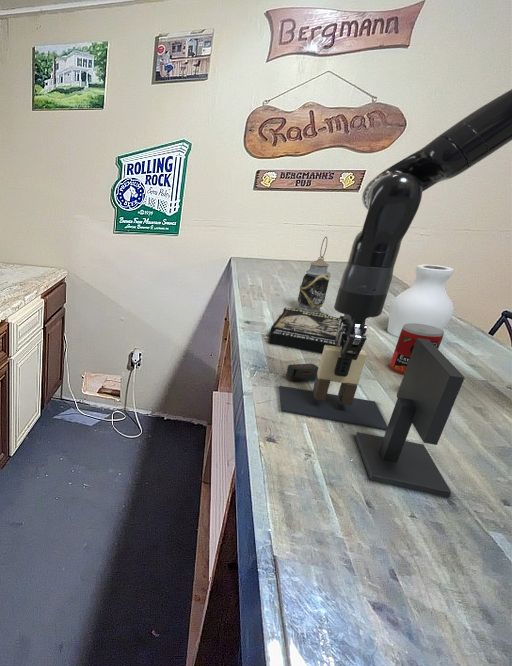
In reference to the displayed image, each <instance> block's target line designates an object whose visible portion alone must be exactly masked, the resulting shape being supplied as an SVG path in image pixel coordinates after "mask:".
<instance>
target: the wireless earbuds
mask: <svg viewBox="0 0 512 666" xmlns="http://www.w3.org/2000/svg"><path fill="white" fill-rule="evenodd" d="M318 368H319V366H317V365H316V364H314V363H293V364H291V363H290V364H288V365H287V368H286V374H285V377H286V378H287V379H288V380H289V381H291V382H302V381H304V382H305V381H306V382H307V381H315V380H316V376H317V371H318Z"/></svg>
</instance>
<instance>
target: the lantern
mask: <svg viewBox="0 0 512 666" xmlns="http://www.w3.org/2000/svg"><path fill="white" fill-rule="evenodd" d="M325 239H326V240H328V237H327V236H324V238H323V239H322V242H321V246H320V250H319V251H320V252H319V255H320V256H319V257H318V258H317V259H316V260H314V261H311V262H310V266H309V269H308V270H305V274H304V275H303V277H302V282H301V284H300V286H299V293H298V296H297V302H298V306H297V309H298V310H304V311H311V312H317V313H321V308H323V305H324V304H325V301H326V296H327V291H328V287H329V284H330V283H329V282H330V279H331V276H332V275H331V272H328V267H329V266H330V264H328V263H327V262H326V261H325V257H324V256H325V254H326V251H327V247H328V241H325ZM324 241H325V242H326V243H325V248H324V252H323V255H322V249H323V244H324Z"/></svg>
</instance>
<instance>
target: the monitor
mask: <svg viewBox="0 0 512 666" xmlns="http://www.w3.org/2000/svg"><path fill="white" fill-rule="evenodd" d="M465 378H466V377H465V376H464V375H463V373H461V371H460V370H459V369H458V368H456V367H455V365H454V364H453V363H452V362H451V361H450V360H449V359H448V358H447V357H446V356H445V355H444V354H443V353H442V352H441V350H440V349H439V348H438V349H437V348H436V347H435V346H434V345H433V344H432V343H431V341H430V340H428V339H421V338H417V340H416V342H415V345H414V348H413V351H412V354H411V357H410V359H409V362H408V365H407V368H406V371H405V373H404V375H403V376H402V379H401V382H400V385H399V387H398V391H397V392H396V398H397V399H396V401H395V403H394V407H393V409H392V413H391V416H390V418H389V421H388V424H387V430H386V431H385V432H384V435H383V436H380V435H375V434H371V433H364V432H360V431H356V432H355V436H354V439H355V441H356V443H357V447H358V449H359V453H360V455H361V459H362V461H363V465H364V467H365V470H366V472H367V475H368V478H369V481H370V482H374V483H377V484H383V485H387V486H392V487H397V488H401V489H406V490H411V491H415V492H419V493H424V494H428V495H433V496H437V497H442V498H446V499H450V496H451V494H452V490H451V489H450V487H449V485H448V483H447V482H446V481H445V478H444V477H443V475H442V474H441V472H440V470H439V468H438V466H437V465H436V463H435V462H434V460H433V458H432V456H431V455H430V453H429V451H428V449H427V448H426V446H425V444H427V445H434V446H438V443H439V442H440V439H441V437H442V433H443V431H444V429H445V426H446V424H447V421H448V419H449V416H450V415H451V412H452V409H453V407H454V405H455V402H456V400H457V397H458V395H459V393H460V390H461V387H462V386H463V383H464V380H465ZM412 426H413V428H414V429H415V430H416V432H417V433H418V436H419V437H420V439H421V441H422V443H417V442H412V441H407V437H408V435H409V432H410V430H411V427H412Z"/></svg>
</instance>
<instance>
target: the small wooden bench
mask: <svg viewBox="0 0 512 666" xmlns="http://www.w3.org/2000/svg"><path fill="white" fill-rule="evenodd" d="M339 351H340V347H337V346H329V345H324V349H323V353H322V354H321V357H320V361H319V363H318V364H319V365H318V367H319V368H318V371H317V376H316V380H314V384H313V388H312V391H313V393H314V398H315V399H316V400H322V401H325V399H326V395H327V394H328V391H329V388H330V384H331V382H335V383H340V386H339V389H338V393H337V395H338V396H339V399H340V402H341V404H346V405H352V402H353V399H354V398H355V395H356V392H357V389H358V386H359V382H360V379H361V375H362V373H363V370H364V366H365V363H366V360H367V357H368V354H367V352H366V351H365V349H361V351H360V353H359V355H358V358H357V359H356V360H352V362H351V365H350V369H349V372H348V375H347V376H346V377H343V376H336V375H335V374H334V371H335V367H336V364H337V360H338V354H339ZM351 352H352V351H347V353H351Z"/></svg>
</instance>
